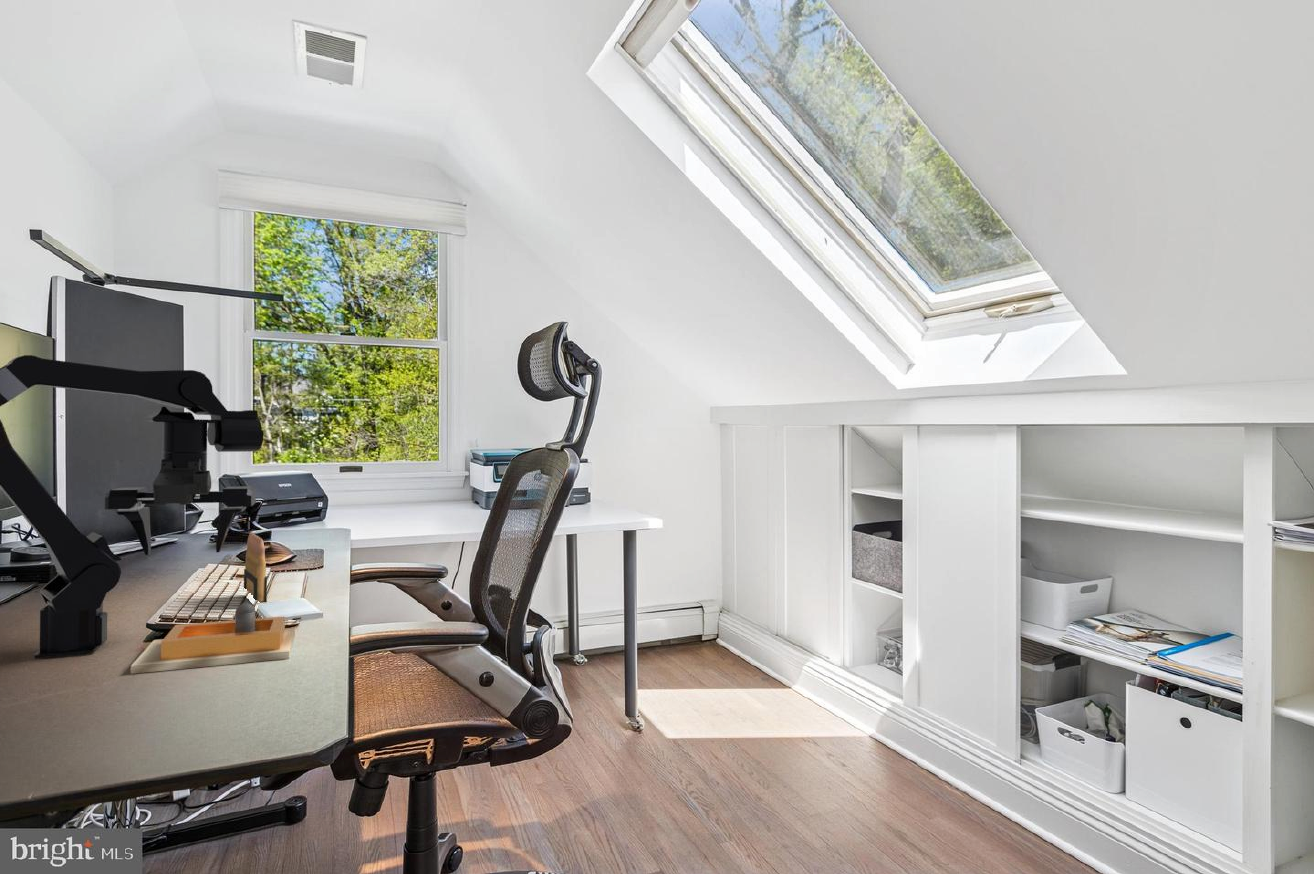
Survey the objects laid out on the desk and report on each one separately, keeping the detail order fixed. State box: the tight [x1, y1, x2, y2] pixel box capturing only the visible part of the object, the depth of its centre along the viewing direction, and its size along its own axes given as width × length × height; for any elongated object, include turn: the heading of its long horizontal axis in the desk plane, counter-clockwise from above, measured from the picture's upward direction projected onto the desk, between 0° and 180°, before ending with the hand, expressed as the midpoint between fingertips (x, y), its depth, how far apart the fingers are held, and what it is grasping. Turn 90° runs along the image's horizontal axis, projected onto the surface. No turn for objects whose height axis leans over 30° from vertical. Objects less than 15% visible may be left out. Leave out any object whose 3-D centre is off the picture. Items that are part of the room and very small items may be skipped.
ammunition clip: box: [243, 531, 268, 603], centre depth 129 cm, size 11×2×12 cm, turn 40°
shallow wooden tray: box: [161, 616, 286, 660], centre depth 100 cm, size 14×9×2 cm, turn 114°
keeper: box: [130, 602, 296, 675], centre depth 100 cm, size 18×12×7 cm, turn 114°
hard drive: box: [257, 597, 324, 622], centre depth 121 cm, size 2×8×12 cm
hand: (183, 553), depth 109 cm, fingers open, 9 cm apart
